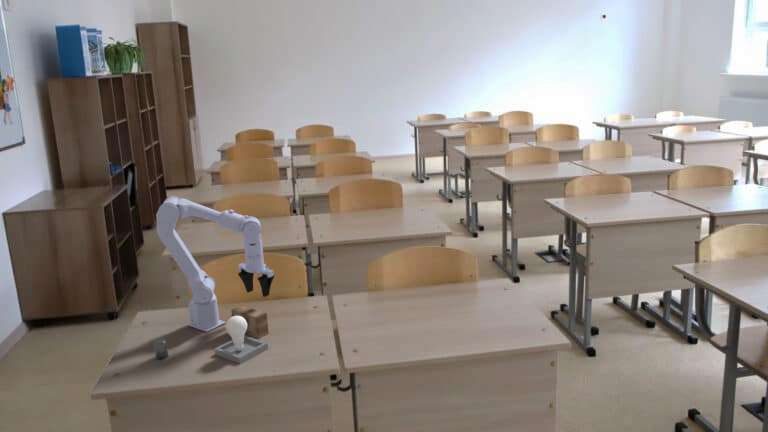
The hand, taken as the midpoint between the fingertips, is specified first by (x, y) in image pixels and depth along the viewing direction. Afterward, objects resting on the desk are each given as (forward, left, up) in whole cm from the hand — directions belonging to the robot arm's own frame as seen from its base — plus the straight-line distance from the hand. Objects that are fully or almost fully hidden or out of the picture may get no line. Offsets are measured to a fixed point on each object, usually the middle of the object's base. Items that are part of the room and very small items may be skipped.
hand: (258, 293), depth 208 cm
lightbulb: (+12, -20, -9) cm, 25 cm away
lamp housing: (+4, -8, -9) cm, 13 cm away
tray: (+12, -19, -9) cm, 24 cm away
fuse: (-6, -34, -9) cm, 36 cm away
